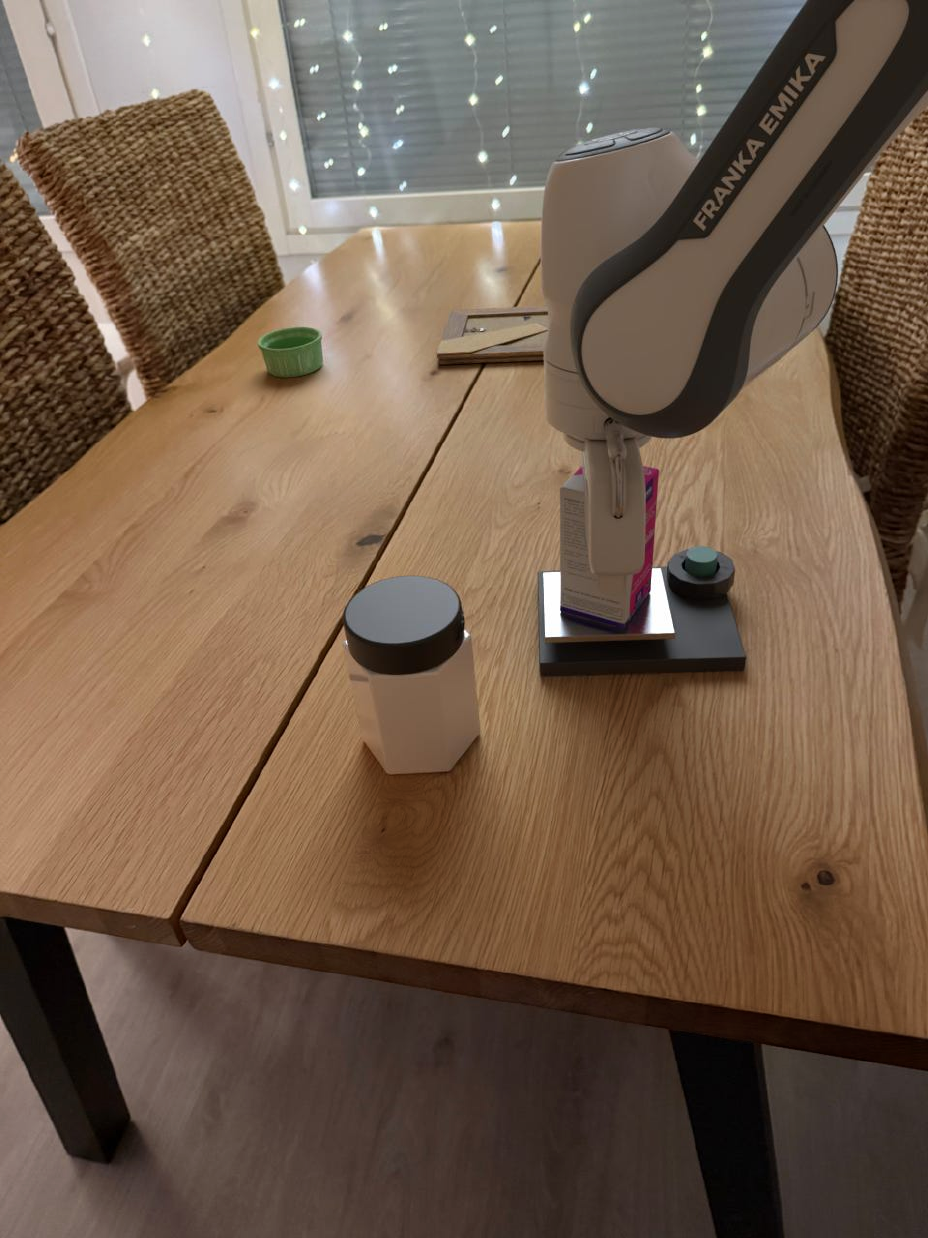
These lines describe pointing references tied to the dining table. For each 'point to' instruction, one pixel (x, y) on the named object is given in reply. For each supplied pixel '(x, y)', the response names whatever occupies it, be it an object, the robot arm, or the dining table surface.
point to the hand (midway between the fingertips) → (606, 557)
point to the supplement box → (574, 564)
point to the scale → (697, 645)
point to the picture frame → (494, 335)
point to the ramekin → (292, 351)
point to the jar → (412, 673)
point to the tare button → (701, 561)
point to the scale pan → (643, 625)
